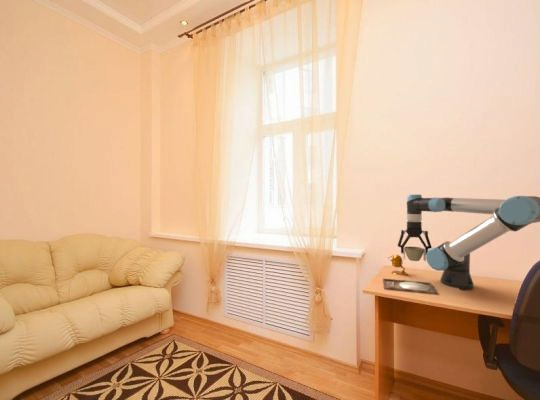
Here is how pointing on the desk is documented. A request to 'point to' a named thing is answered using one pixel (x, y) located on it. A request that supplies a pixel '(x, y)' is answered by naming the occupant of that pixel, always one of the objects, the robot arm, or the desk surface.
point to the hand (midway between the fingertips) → (414, 259)
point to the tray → (396, 287)
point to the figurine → (397, 264)
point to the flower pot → (414, 253)
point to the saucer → (414, 286)
